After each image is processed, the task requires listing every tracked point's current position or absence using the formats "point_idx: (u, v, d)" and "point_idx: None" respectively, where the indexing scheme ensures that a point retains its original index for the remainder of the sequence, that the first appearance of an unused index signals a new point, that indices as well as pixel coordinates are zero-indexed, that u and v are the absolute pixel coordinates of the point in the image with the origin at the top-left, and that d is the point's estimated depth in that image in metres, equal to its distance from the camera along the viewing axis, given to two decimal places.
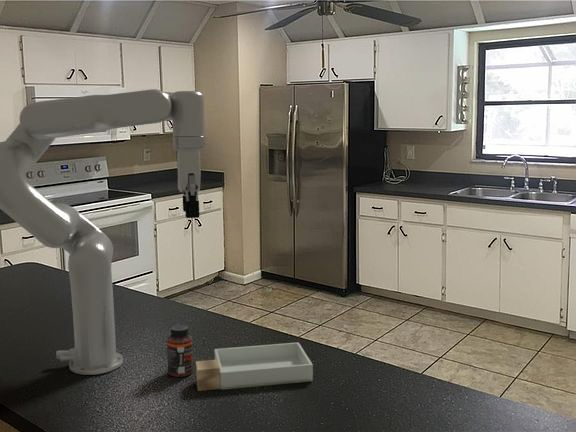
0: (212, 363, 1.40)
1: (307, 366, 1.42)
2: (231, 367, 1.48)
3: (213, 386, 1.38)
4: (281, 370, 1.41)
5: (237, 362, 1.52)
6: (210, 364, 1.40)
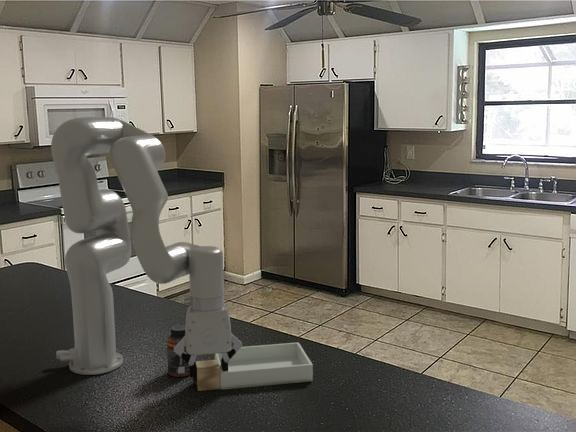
0: (212, 363, 1.40)
1: (307, 366, 1.42)
2: (231, 367, 1.48)
3: (213, 386, 1.38)
4: (281, 370, 1.41)
5: (237, 362, 1.52)
6: (210, 364, 1.40)
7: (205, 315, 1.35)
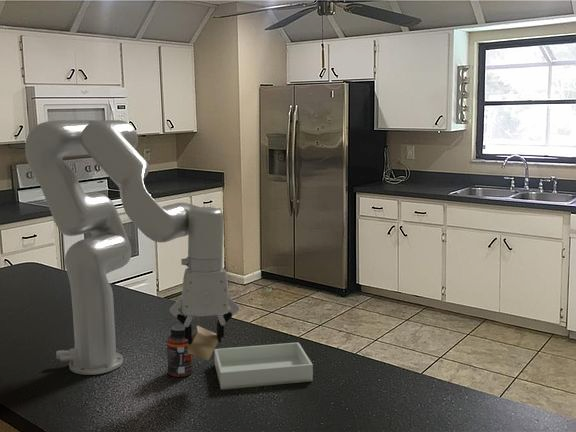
0: (211, 334, 1.40)
1: (307, 366, 1.42)
2: (231, 367, 1.48)
3: (203, 355, 1.37)
4: (281, 370, 1.41)
5: (237, 362, 1.52)
6: (209, 334, 1.39)
7: (203, 276, 1.34)
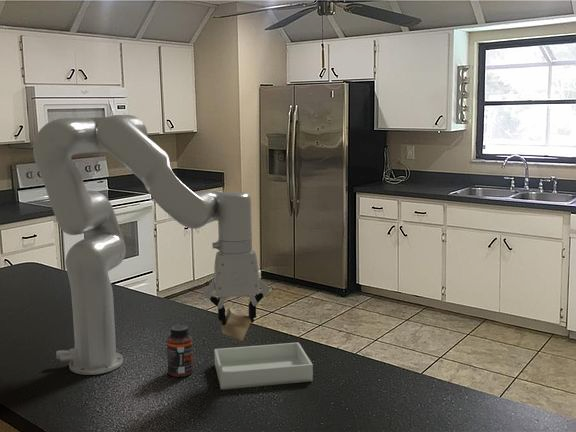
0: (244, 315, 1.44)
1: (307, 366, 1.42)
2: (231, 367, 1.48)
3: (237, 335, 1.41)
4: (281, 370, 1.41)
5: (237, 362, 1.52)
6: (242, 314, 1.44)
7: (234, 258, 1.38)
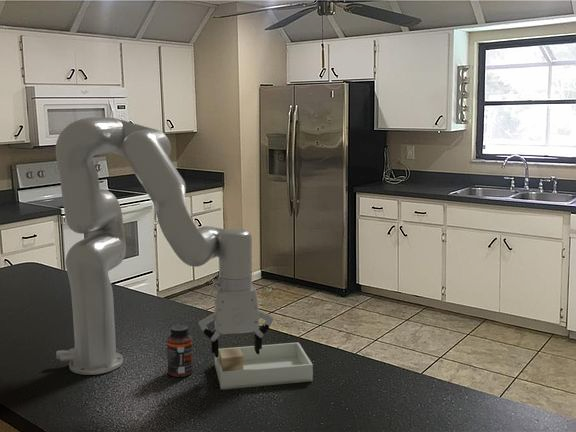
0: (235, 352, 1.45)
1: (307, 366, 1.42)
2: None
3: None
4: (281, 370, 1.41)
5: None
6: (233, 352, 1.45)
7: (234, 295, 1.40)
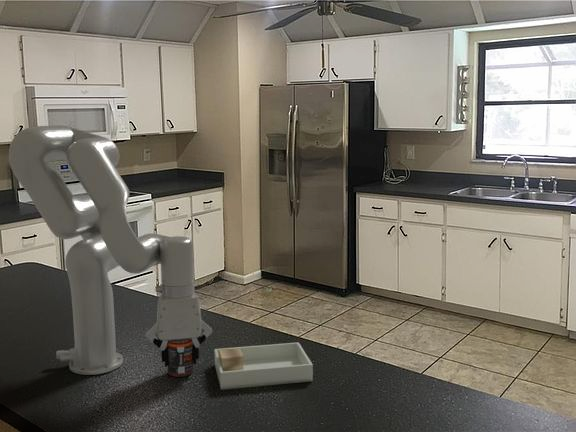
0: (235, 352, 1.45)
1: (307, 366, 1.42)
2: None
3: None
4: (281, 370, 1.41)
5: None
6: (233, 352, 1.45)
7: (175, 302, 1.41)
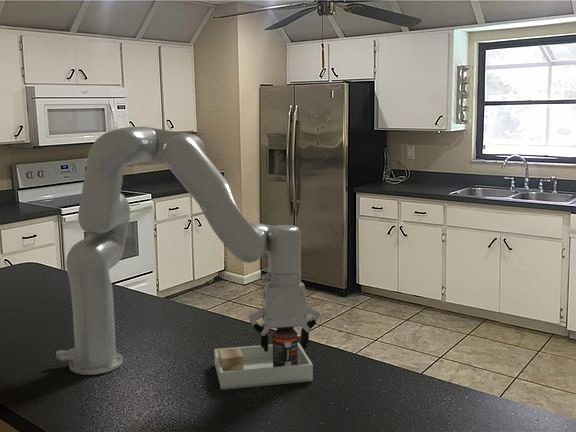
0: (235, 352, 1.45)
1: (307, 366, 1.42)
2: None
3: None
4: (281, 370, 1.41)
5: None
6: (233, 352, 1.45)
7: (284, 290, 1.42)
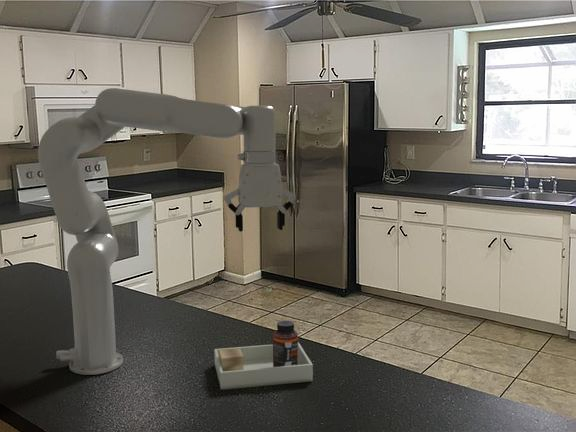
0: (235, 352, 1.45)
1: (307, 366, 1.42)
2: None
3: None
4: (281, 370, 1.41)
5: None
6: (233, 352, 1.45)
7: (258, 168, 1.43)
